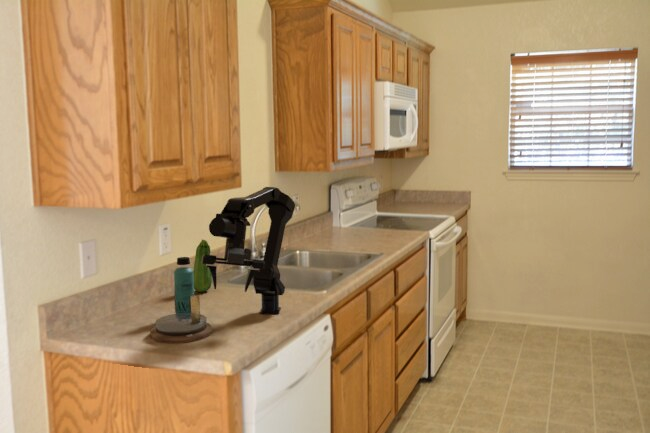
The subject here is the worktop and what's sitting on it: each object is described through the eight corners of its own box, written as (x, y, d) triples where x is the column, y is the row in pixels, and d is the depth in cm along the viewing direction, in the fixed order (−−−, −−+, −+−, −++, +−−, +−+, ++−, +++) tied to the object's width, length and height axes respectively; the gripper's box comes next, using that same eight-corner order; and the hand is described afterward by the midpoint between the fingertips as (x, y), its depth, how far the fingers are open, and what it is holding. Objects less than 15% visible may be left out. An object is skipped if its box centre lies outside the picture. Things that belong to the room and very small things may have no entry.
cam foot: (145, 330, 200) (143, 296, 199) (180, 318, 213) (179, 286, 211) (182, 338, 192) (180, 302, 191) (217, 325, 205) (215, 291, 203)
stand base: (144, 330, 206) (144, 324, 206) (201, 321, 215) (201, 316, 214) (159, 346, 191) (159, 340, 190) (220, 336, 199) (220, 331, 199)
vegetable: (189, 291, 255) (187, 239, 252) (206, 288, 259) (204, 237, 257) (198, 295, 249) (196, 241, 247) (215, 291, 254) (213, 239, 251)
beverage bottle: (171, 317, 220) (168, 257, 217) (188, 313, 224) (186, 254, 222) (182, 321, 215) (179, 260, 212) (199, 317, 220) (197, 257, 217)
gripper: (206, 235, 196) (200, 289, 195) (269, 242, 200) (264, 294, 199) (204, 236, 207) (198, 287, 205) (264, 242, 211) (259, 292, 210)
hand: (230, 290), depth 204 cm, fingers open, 9 cm apart
